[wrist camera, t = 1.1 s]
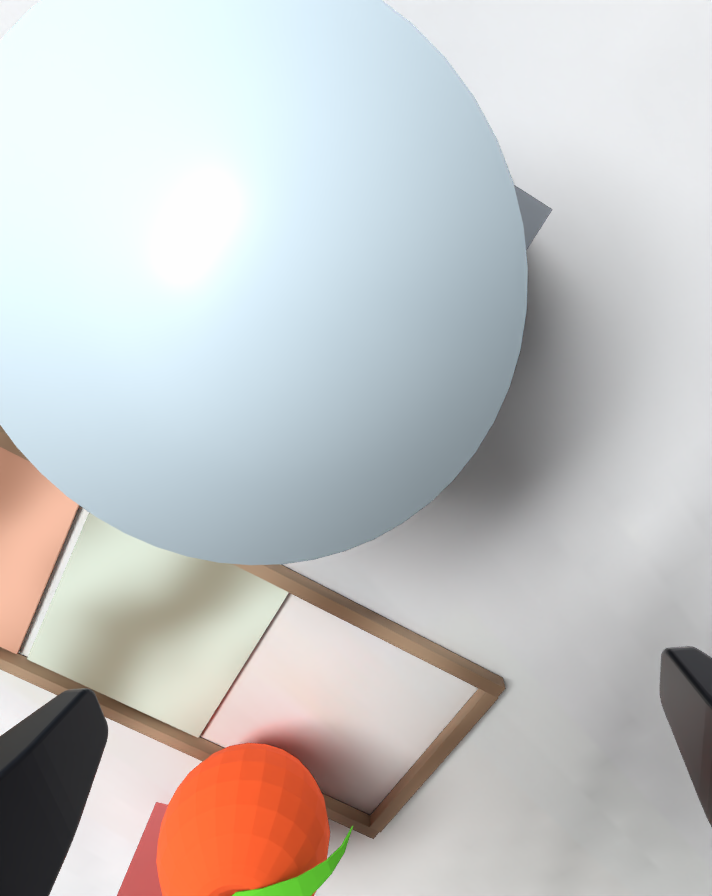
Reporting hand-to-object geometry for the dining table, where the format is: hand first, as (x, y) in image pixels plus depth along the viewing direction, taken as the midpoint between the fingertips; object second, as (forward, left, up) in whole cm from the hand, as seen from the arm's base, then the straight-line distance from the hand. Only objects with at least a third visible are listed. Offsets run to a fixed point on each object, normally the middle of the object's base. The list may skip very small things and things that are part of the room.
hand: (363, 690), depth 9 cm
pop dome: (+5, -3, -9) cm, 11 cm away
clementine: (-4, +18, -12) cm, 22 cm away
